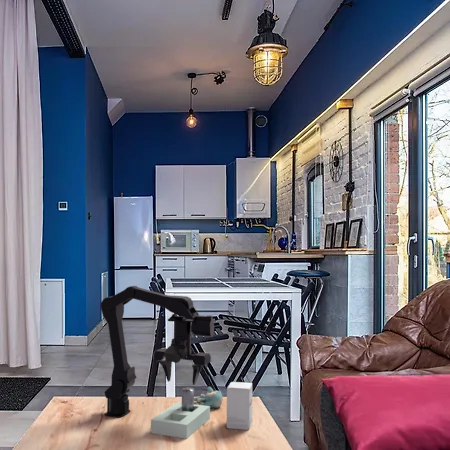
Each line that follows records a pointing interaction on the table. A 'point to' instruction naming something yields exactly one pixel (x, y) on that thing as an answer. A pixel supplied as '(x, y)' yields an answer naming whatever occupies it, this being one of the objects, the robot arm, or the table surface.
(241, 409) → the supplement box
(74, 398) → the table surface
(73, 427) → the table surface
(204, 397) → the stuffed animal
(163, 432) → the socket board
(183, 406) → the steel pin
